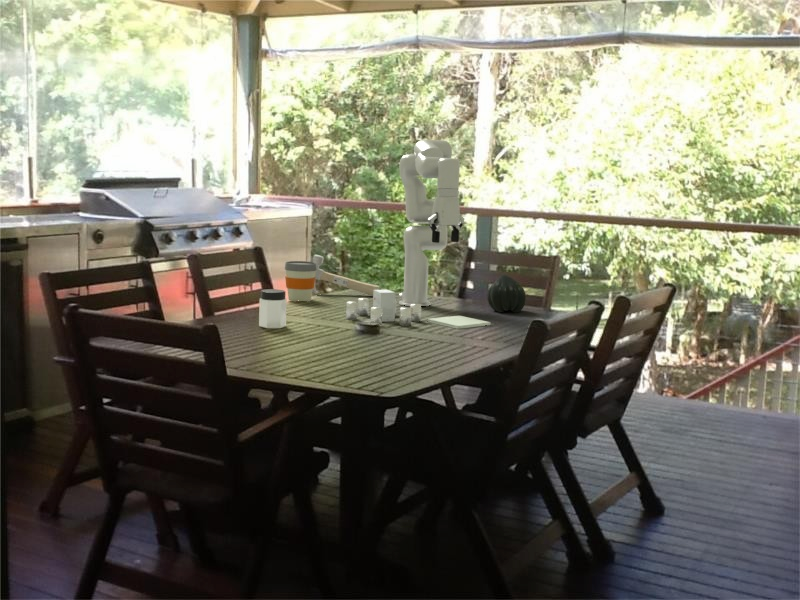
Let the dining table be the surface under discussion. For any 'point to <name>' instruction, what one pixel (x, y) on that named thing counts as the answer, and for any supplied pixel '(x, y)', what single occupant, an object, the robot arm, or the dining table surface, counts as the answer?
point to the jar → (272, 308)
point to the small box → (385, 303)
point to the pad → (458, 322)
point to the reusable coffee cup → (300, 280)
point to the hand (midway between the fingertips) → (445, 242)
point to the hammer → (341, 279)
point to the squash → (506, 295)
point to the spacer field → (376, 312)
